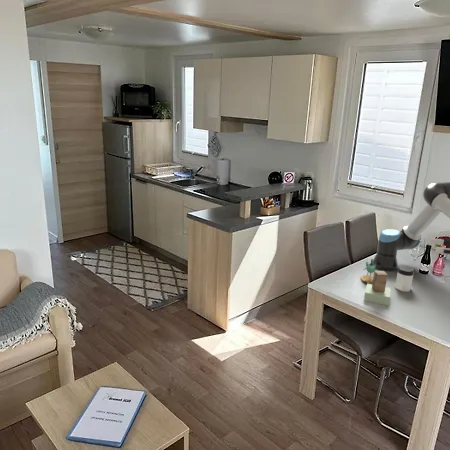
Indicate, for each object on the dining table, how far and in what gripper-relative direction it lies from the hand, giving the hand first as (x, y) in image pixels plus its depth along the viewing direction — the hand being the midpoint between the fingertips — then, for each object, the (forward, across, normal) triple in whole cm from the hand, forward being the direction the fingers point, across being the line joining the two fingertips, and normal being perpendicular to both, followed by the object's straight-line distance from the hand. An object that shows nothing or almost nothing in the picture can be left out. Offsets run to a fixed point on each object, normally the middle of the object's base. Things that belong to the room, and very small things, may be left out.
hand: (432, 245), depth 211 cm
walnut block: (+23, -7, -26) cm, 36 cm away
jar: (+8, +10, -31) cm, 34 cm away
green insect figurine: (+25, +14, -31) cm, 43 cm away
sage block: (+23, -7, -31) cm, 39 cm away
